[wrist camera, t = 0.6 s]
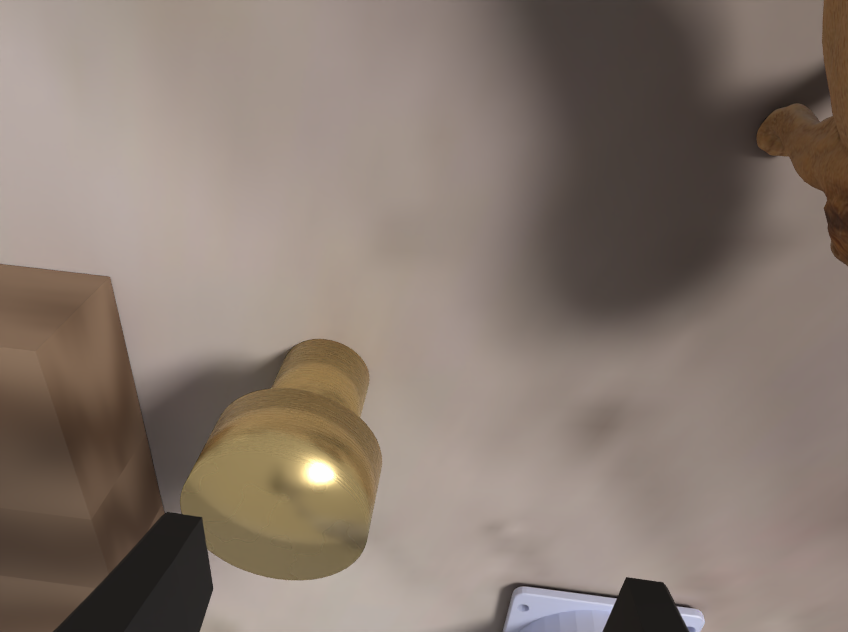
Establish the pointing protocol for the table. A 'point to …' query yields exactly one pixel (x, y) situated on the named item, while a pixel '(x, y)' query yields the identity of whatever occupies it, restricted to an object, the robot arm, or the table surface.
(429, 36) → the table surface
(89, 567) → the walnut block
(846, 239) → the lion figurine
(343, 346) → the brass peg
